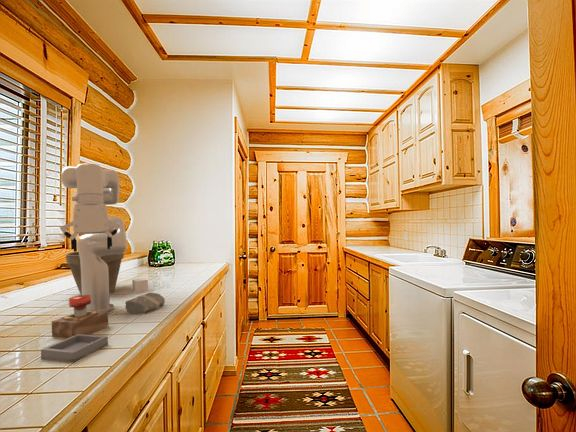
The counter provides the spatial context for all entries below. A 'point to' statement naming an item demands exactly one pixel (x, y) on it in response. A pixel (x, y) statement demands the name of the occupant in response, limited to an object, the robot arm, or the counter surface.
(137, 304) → the decorative stone
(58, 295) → the counter surface
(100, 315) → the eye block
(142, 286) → the pale pink cube
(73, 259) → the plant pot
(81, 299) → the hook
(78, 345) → the tray
